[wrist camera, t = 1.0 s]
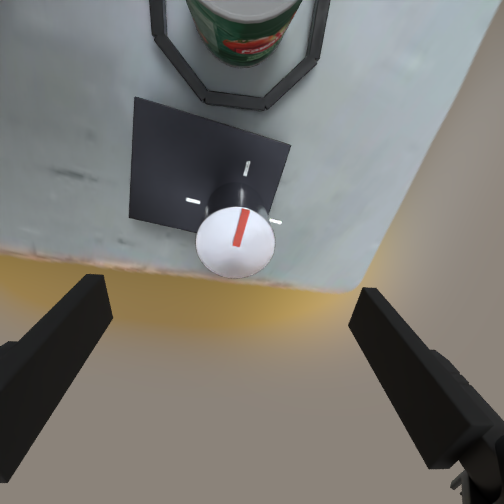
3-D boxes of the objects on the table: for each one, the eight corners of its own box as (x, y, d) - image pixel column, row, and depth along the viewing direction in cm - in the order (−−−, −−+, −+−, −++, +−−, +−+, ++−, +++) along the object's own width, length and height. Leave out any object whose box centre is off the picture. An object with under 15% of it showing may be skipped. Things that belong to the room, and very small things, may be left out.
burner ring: (113, -13, 18) (107, -20, 18) (253, -208, 15) (254, -229, 14) (233, 141, 24) (233, 141, 23) (355, 27, 20) (361, 22, 20)
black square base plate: (136, 223, 27) (127, 232, 25) (144, 98, 22) (133, 95, 20) (264, 251, 30) (267, 262, 28) (300, 148, 25) (307, 150, 22)
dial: (255, 242, 27) (262, 286, 19) (201, 230, 26) (188, 272, 18) (271, 190, 24) (287, 219, 17) (212, 174, 23) (202, 198, 16)
